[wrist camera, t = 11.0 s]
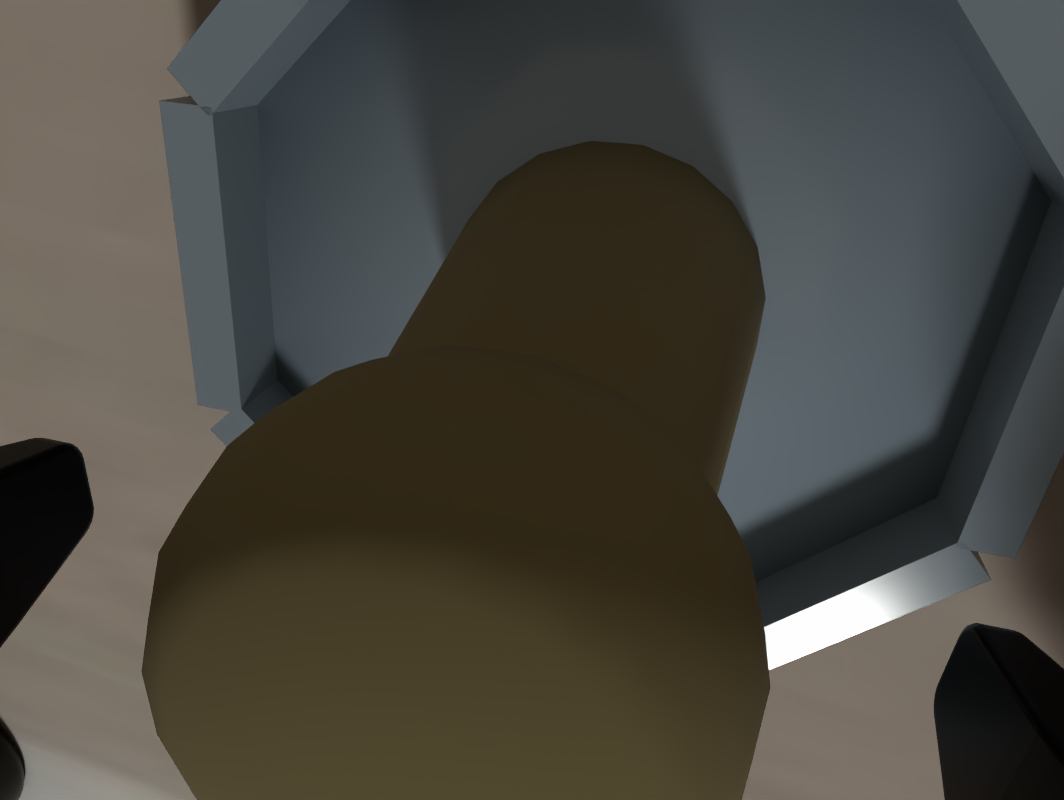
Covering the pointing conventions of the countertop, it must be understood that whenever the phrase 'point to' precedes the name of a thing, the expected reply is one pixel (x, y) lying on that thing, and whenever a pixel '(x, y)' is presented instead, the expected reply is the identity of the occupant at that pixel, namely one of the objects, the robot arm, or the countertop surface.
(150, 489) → the countertop surface
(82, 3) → the countertop surface
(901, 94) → the dish
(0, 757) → the supplement bottle
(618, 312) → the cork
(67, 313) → the countertop surface
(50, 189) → the countertop surface
